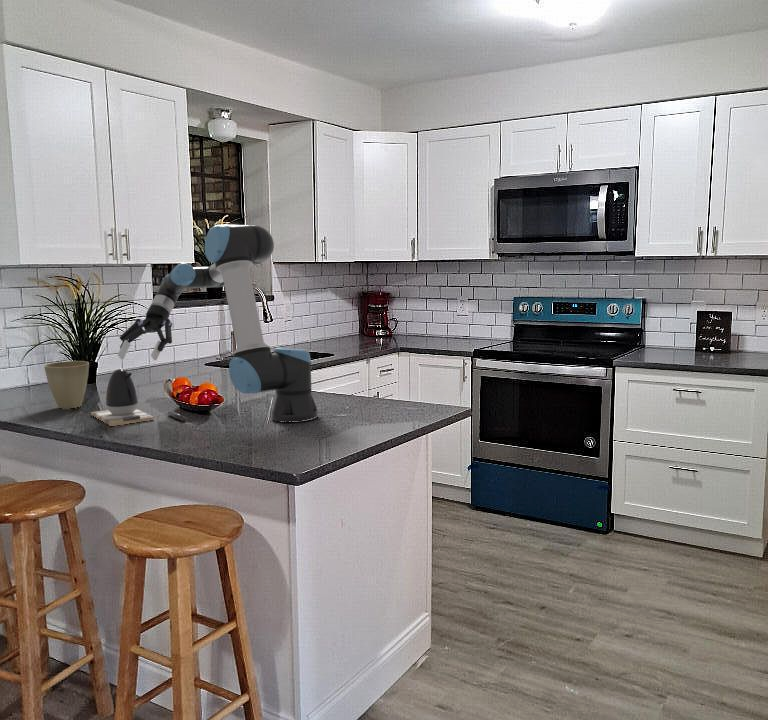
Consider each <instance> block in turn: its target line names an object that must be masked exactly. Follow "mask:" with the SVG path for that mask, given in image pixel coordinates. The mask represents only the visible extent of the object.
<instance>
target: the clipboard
mask: <svg viewBox="0 0 768 720" xmlns="http://www.w3.org/2000/svg"><path fill="white" fill-rule="evenodd" d="M90 414H91V415H92V416H91V417H93V416H94V417H93V418H95V417H96V418H97V419H96V418H95V419H96V420H98V419H99V420H98V421H100V420H101V421H103V422H104V423H103V422H102V423H103V424H105V423H106V424H108V425H110V426H115V427H117V426H116V425H121V426H124V425H123V424H128V425H130V424H129V423H135V422H141V421H148V420H154V421H155V416H153V415H151V414H149V413H146V411H145V412H144V411H142V410H140V409H138V408H136V409H135V411H134V412H133V413H131V414H129V415H122V416H118V415H114V414H112V413H111V412H110V411H109V410H108V409H106V410H99V411H98V410H97V411H92V412H90ZM101 421H100V422H101ZM148 422H149V421H148ZM141 423H142V422H141ZM106 424H105V425H106ZM135 424H136V423H135ZM108 425H107V426H108ZM110 426H109V427H110Z"/></svg>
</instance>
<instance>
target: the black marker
mask: <svg viewBox="0 0 768 720" xmlns="http://www.w3.org/2000/svg"><path fill="white" fill-rule="evenodd" d="M167 415H168V416H169V417H172V418H174V419H177V420H178V421H181V422H183V421H184V422H186V421H187V417H186V416H184V415H182V414H179V413H177V412H174V411H172V410H169V411H168V412H167Z"/></svg>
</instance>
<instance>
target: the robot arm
mask: <svg viewBox="0 0 768 720" xmlns="http://www.w3.org/2000/svg"><path fill="white" fill-rule="evenodd" d="M206 234H207V235H206V237H205V241H204V253H205V257H206V259H207V261H208V262H209V263H212V264H211V265H210V266H202V267H201V266H197V267H195V266H194V267H193V266H192V265H191V264H188V263H186V262H182V263H179V264H177V265H176V266H175V267H174V268H173V269H172V270H171V271H170V273H168V274H166V275H165V276H164V278H163V279H162V281H161V284H160V286H159V287H158V290H157V291H156V294H155V296H154V298H153V299H152V301H151V304H150V306H149V307H148V309H147V310H146V314H145V318H144V319H142V320H141V318H137V319H136V320H135V321H134V323H133V324H132V325H130V327H128V328H127V329H126V330H125V331H124V332H123V333H122V334H121V335H120V336H119V339H120V340H121V344H120V346H119V351H118V353H117V354H116V355H117V356H118V357H119V359H120V360H124V359H125V357H126V355H127V352H128V351H129V349H130V346H131V343H132V342H133V341H135V340H136V339H137V338H139V337H140V336H142V335H145V334H147V333H156V334H157V336H158V337H159V340H157V342H156V343H155V346H154V347H153V348H154V349H153V350H152V352H151V354H150V357H151V358H152V360H153V361H157V360H158V358H159V355H160V353H161V352H163V351H164V348H165V346H166V345H168V344H169V345H170V344H172V343H173V336H172V335H173V333H172V327H173V323H172V321H171V320H170V315H171V313H172V311H173V309H174V307H175V304H176V303H177V302H178V298H179V296H180V295H181V294H182V293H183V292H184V291H185V290H186V289H201V288H202V289H205V288H221V287H224V291H225V296H226V302H227V305H228V310H229V311H228V312H229V315H230V320H231V321H230V322H231V325H232V329H233V330H232V331H233V334H234V335H233V336H234V339H235V340H234V341H235V345H236V349H235V350H234V351H233V353H232V355H233V358H232V359H231V360H230V361H229V364H228V367H229V368H228V376H229V379H230V381H231V383H232V385H233V386H234V388H235V389H236V390H237V391H238V392H239V393H241V394H243V395H245V394H246V395H247V394H248V395H249V394H253V395H254V394H255V395H256V394H259V393H262V392H263V393H264V392H270V391H275V398H274V402H273V406H272V409H271V412H270V413H271V414H270V415H271V417H270V418H271V420H272V419H273V420H275V421H274V422H276V421H284V422H285V421H286V422H289V421H291V422H292V421H302V420H307V419H311V418H314V417H316V416H317V415H319V413H318V412H319V411H318V408H317V405H316V402H315V399H314V397H313V394H312V393H313V392H312V369H311V368H312V366H311V365H312V360H311V353H310V352H309V351H308V350H306V349H302V348H292V347H275V348H274V349H273V352H272V351H271V347H270V345H268V344H267V343H265V341H264V336H263V332H262V331H263V330H262V326H261V321H260V317H259V316H260V315H259V311H258V307H257V302H256V297H255V291H254V287H253V282H252V278H251V277H252V276H251V272H250V270H251V268H252V266H253V265H260V264H262V263H263V262H265V261H266V260H268V259H269V258H270V257H271V255H272V254H273V252H274V249H275V248H274V247H275V242H274V239H273V236H272V234H271V233H270V232H269V231H268V230H267V229H266V228H264V227H262V226H260V225H256V224H227V223H226V224H225V223H224V224H217V225H214V226H212V227H211V228H210V229H209V230H208V232H207V233H206ZM163 327H164V333H165V334H164V333H163V330H162V328H163ZM273 420H272V421H273Z"/></svg>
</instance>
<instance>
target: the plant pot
mask: <svg viewBox="0 0 768 720" xmlns="http://www.w3.org/2000/svg"><path fill="white" fill-rule="evenodd" d="M43 367H44V368H43V369H44V371H45V376H46V379H47V383H48V386H49V389H50V391H51V395H52V397H53V399H54V401H55V403H56V406H58V409H59V408H62V409H61V410H71V409H70V408H75V409H78V408H77V407H79V408H80V406H81V407H82V404H83V401H84V397H85V394H86V390H87V386H88V378H89V368H90V363H89V361H85V360H69V361H67V360H66V361H57V362H51V363H47V364H44V365H43Z"/></svg>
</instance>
